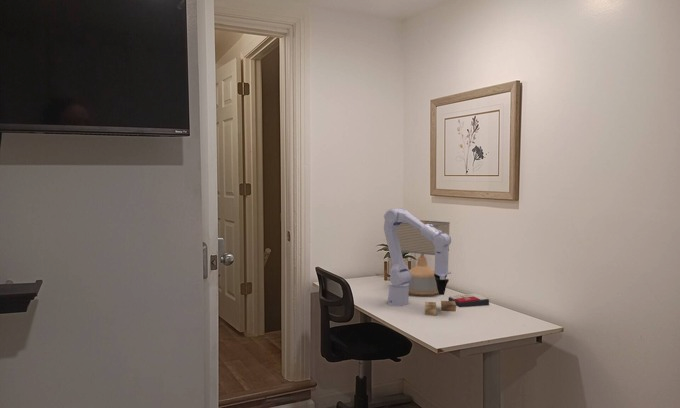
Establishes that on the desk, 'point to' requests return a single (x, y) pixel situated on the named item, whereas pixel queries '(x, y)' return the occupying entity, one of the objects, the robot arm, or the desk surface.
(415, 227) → the robot arm
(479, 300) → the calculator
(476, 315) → the desk surface
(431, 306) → the oak cube
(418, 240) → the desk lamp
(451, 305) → the walnut slab
